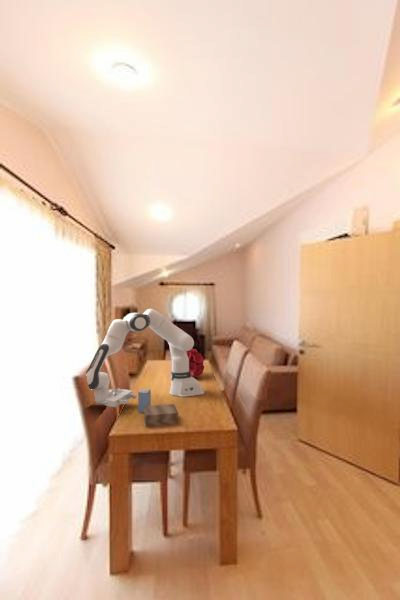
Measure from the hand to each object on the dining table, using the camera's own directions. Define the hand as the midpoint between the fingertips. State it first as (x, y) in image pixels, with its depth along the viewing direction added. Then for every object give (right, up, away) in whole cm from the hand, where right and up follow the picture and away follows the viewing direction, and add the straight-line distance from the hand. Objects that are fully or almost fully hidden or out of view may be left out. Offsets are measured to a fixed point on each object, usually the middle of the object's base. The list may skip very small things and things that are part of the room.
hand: (132, 399), depth 199 cm
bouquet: (+29, -4, +76) cm, 81 cm away
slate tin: (+7, -6, -2) cm, 10 cm away
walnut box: (+18, -7, -16) cm, 25 cm away
